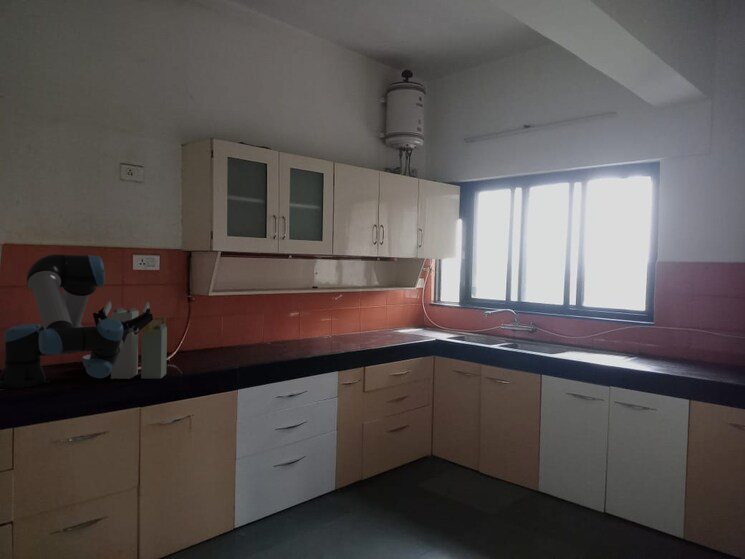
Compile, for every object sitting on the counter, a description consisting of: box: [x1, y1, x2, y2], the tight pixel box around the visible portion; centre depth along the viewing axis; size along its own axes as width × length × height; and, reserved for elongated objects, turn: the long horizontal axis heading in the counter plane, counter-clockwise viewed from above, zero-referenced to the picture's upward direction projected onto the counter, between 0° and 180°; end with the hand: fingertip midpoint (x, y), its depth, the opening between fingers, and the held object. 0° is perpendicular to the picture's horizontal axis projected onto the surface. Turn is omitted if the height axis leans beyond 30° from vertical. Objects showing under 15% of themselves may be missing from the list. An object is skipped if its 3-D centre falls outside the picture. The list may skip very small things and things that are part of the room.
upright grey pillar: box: [140, 323, 168, 380], centre depth 217 cm, size 8×9×22 cm
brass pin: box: [140, 316, 167, 334], centre depth 214 cm, size 4×23×4 cm, turn 9°
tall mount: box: [110, 307, 140, 380], centre depth 215 cm, size 8×9×29 cm
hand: (129, 304), depth 189 cm, fingers open, 13 cm apart
